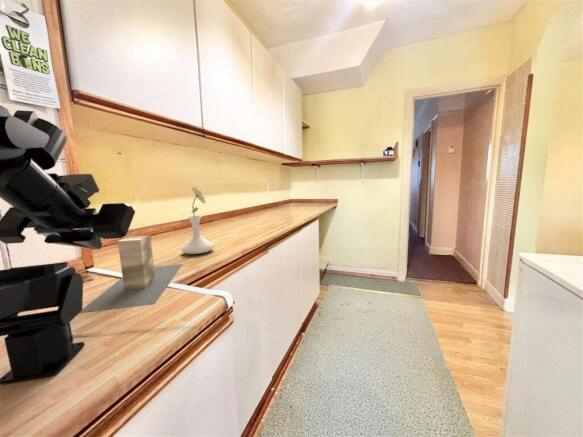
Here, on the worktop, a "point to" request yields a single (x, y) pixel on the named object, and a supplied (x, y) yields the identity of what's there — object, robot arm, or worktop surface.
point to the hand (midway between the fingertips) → (99, 247)
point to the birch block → (136, 262)
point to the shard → (87, 277)
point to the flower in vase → (196, 232)
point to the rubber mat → (134, 292)
